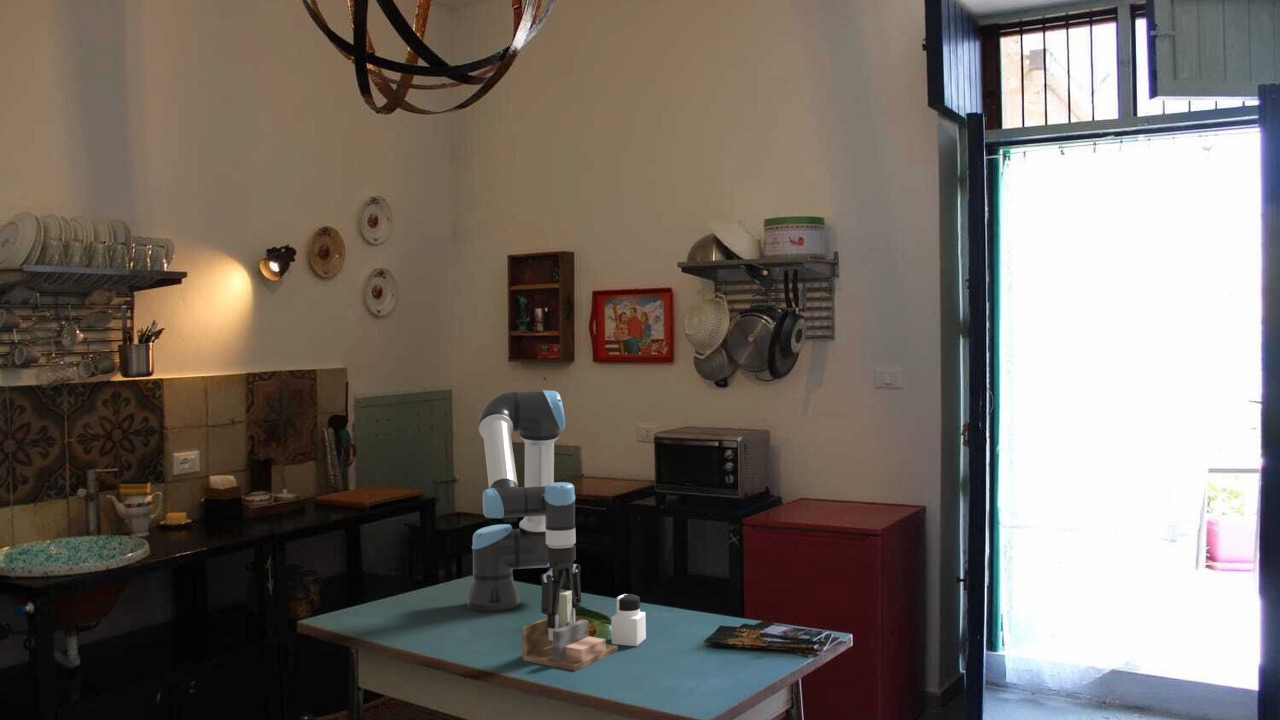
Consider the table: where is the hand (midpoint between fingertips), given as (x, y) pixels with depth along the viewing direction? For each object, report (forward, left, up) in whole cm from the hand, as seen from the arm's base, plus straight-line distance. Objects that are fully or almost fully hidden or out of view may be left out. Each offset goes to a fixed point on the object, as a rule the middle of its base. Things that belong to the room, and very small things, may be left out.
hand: (562, 636), depth 257 cm
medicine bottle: (-17, +9, -4) cm, 19 cm away
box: (0, 0, -2) cm, 2 cm away
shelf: (0, +3, -4) cm, 5 cm away
